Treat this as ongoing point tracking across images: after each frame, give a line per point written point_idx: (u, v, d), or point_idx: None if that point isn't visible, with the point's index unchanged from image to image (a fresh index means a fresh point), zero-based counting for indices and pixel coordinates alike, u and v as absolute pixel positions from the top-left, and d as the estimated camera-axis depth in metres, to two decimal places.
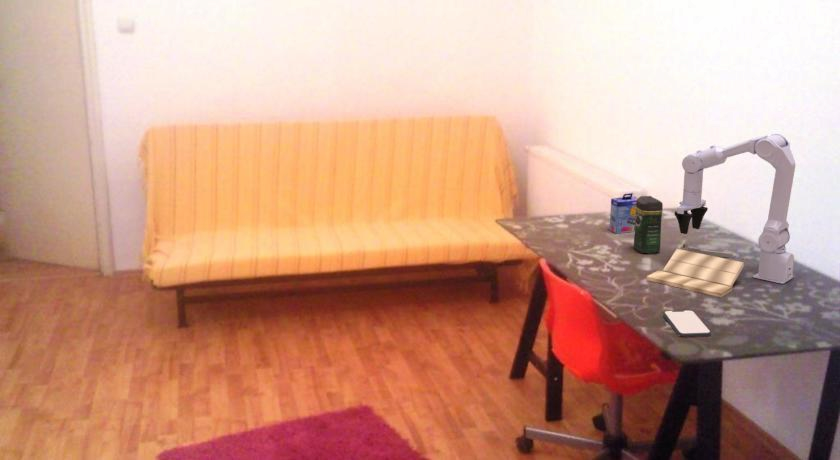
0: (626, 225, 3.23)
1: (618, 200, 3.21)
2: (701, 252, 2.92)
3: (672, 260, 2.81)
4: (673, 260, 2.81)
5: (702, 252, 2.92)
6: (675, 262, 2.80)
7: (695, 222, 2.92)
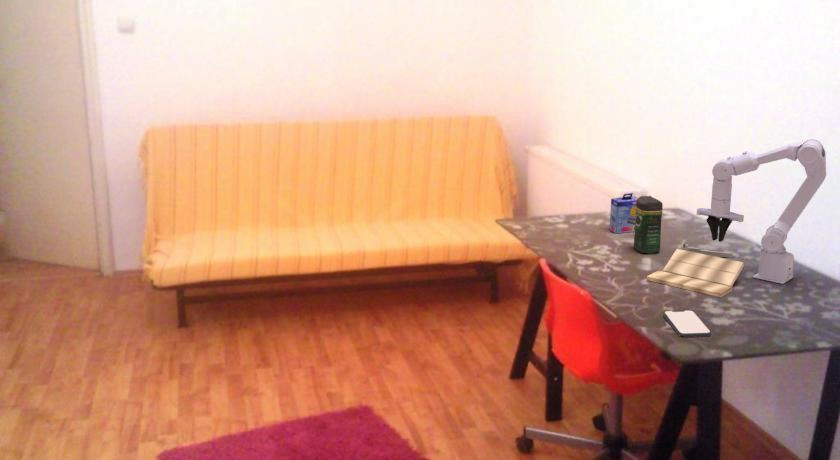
0: (626, 225, 3.23)
1: (618, 200, 3.21)
2: (701, 252, 2.92)
3: (672, 260, 2.81)
4: (673, 260, 2.81)
5: (702, 252, 2.92)
6: (675, 262, 2.80)
7: None
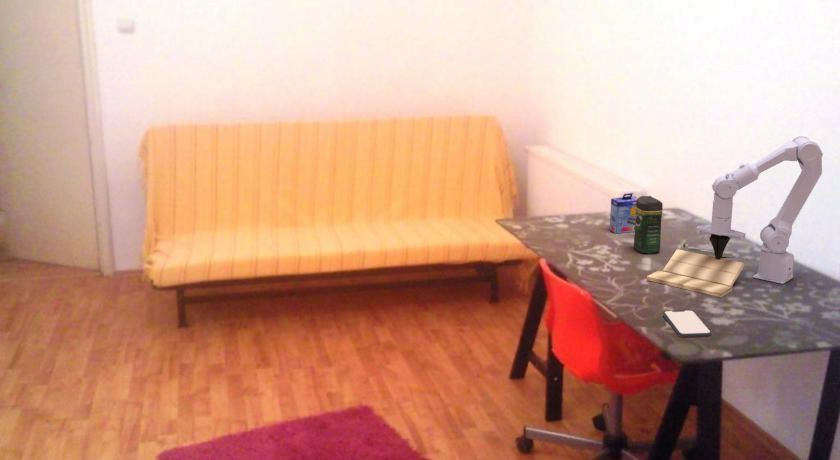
0: (626, 225, 3.23)
1: (618, 200, 3.21)
2: (701, 252, 2.92)
3: (672, 260, 2.81)
4: (674, 260, 2.81)
5: (702, 252, 2.92)
6: (675, 262, 2.80)
7: None
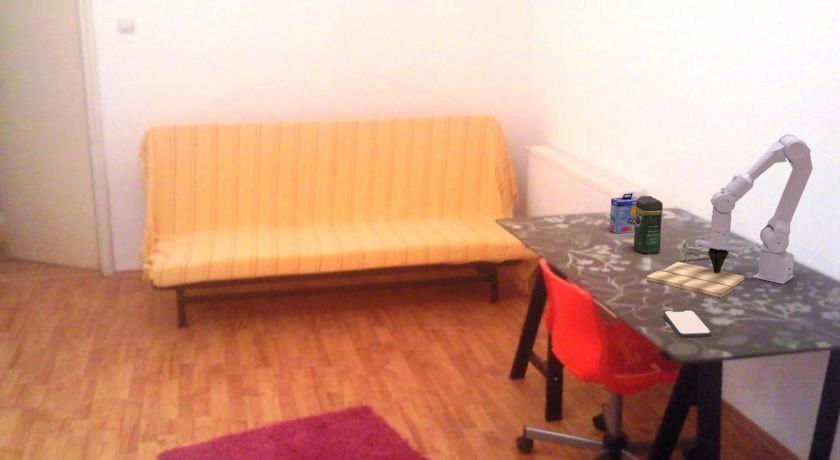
0: (626, 225, 3.23)
1: (618, 200, 3.21)
2: (701, 252, 2.92)
3: (672, 266, 2.82)
4: (674, 266, 2.82)
5: (702, 252, 2.92)
6: (675, 268, 2.81)
7: None
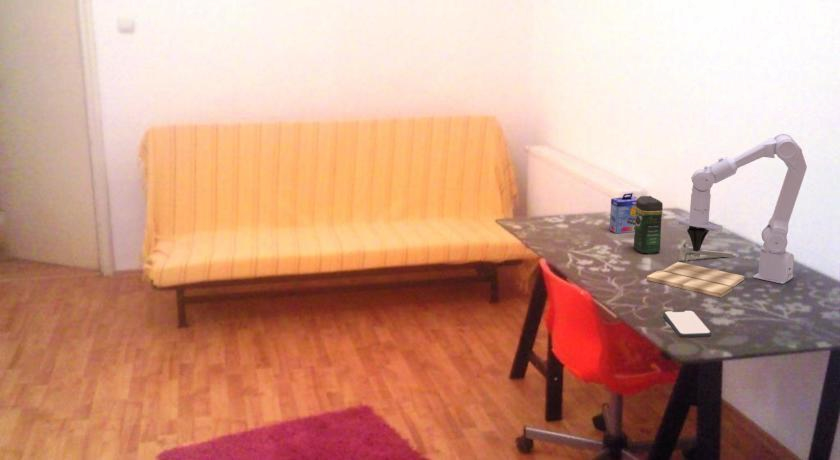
0: (626, 225, 3.23)
1: (618, 200, 3.21)
2: (701, 252, 2.92)
3: (672, 266, 2.82)
4: (674, 266, 2.82)
5: (702, 252, 2.92)
6: (675, 268, 2.81)
7: None
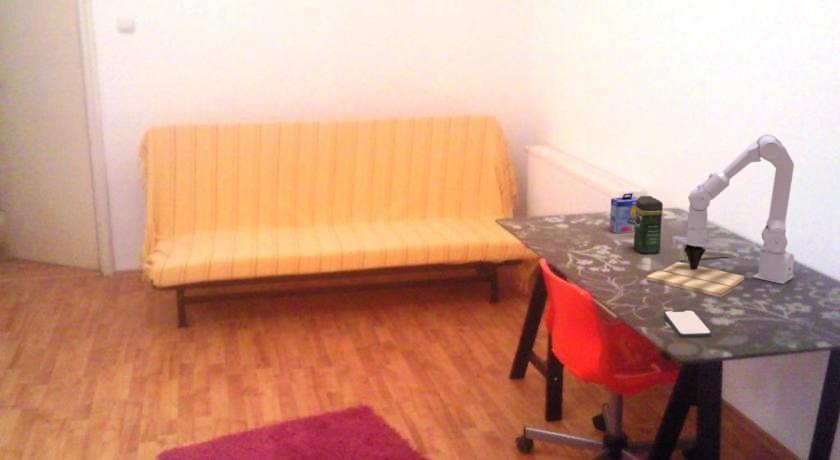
0: (626, 225, 3.23)
1: (618, 200, 3.21)
2: None
3: (672, 266, 2.82)
4: (674, 266, 2.82)
5: None
6: (675, 268, 2.81)
7: None
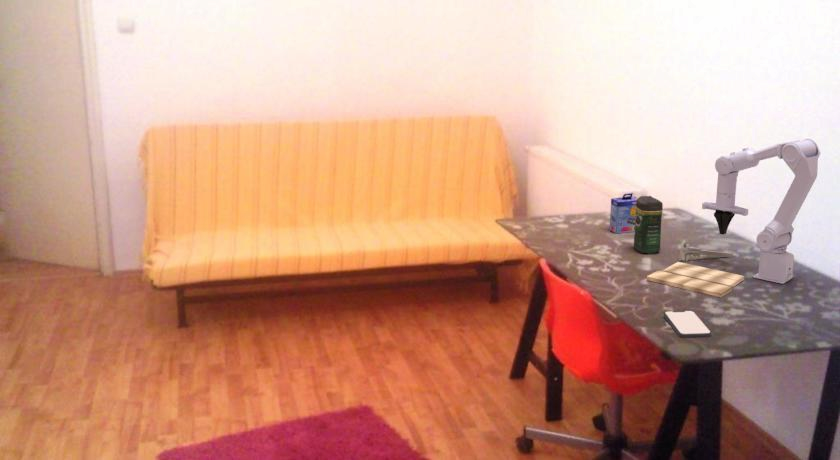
0: (626, 225, 3.23)
1: (618, 200, 3.21)
2: (702, 252, 2.92)
3: (672, 266, 2.82)
4: (674, 266, 2.82)
5: (703, 252, 2.92)
6: (675, 268, 2.81)
7: None
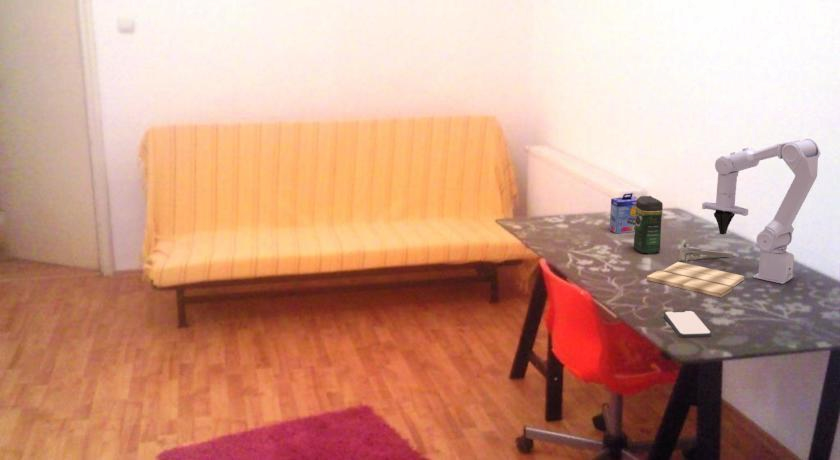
0: (626, 225, 3.23)
1: (618, 200, 3.21)
2: (702, 252, 2.92)
3: (672, 266, 2.82)
4: (674, 266, 2.82)
5: (703, 252, 2.92)
6: (675, 268, 2.81)
7: None
